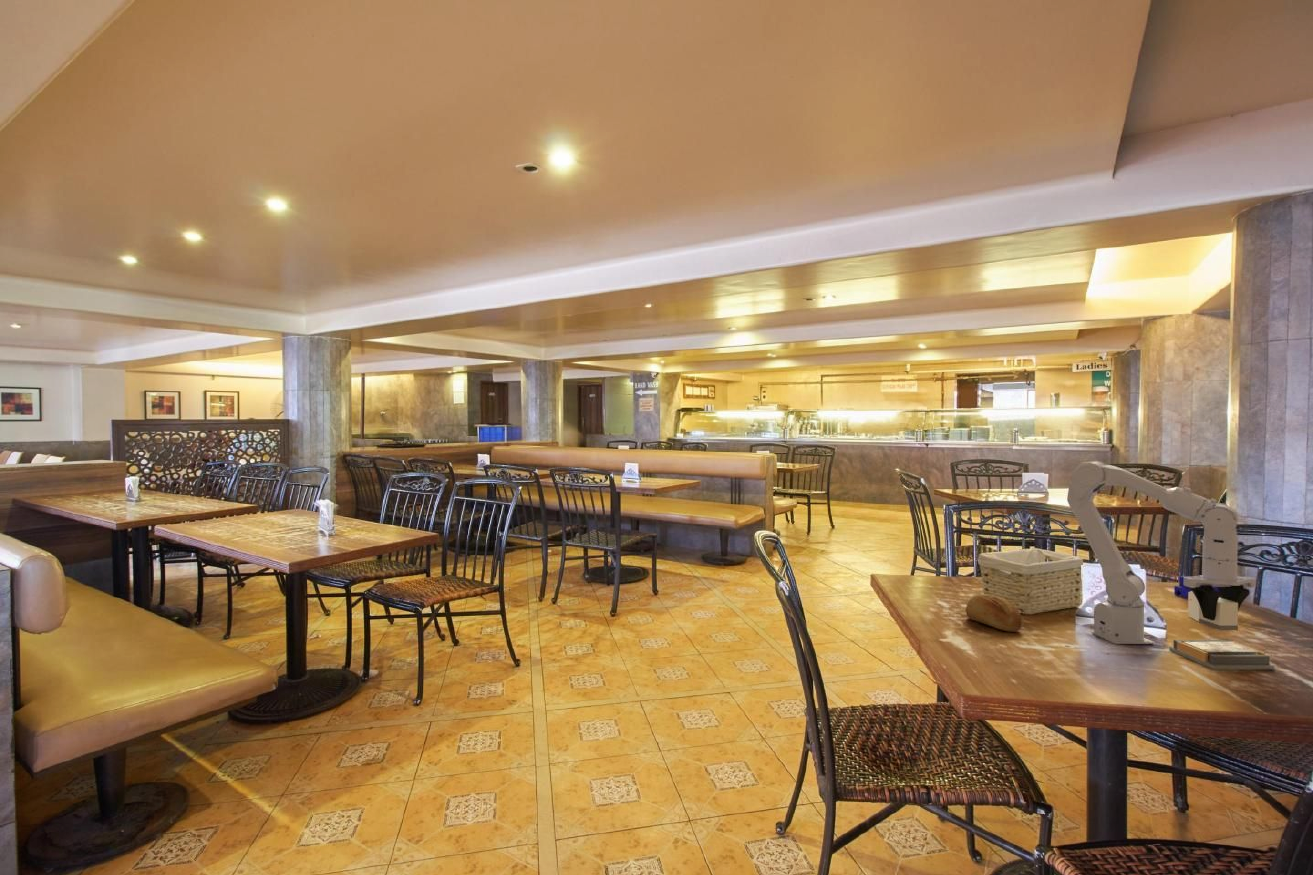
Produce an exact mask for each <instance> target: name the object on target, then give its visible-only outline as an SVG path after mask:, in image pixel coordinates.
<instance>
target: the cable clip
mask: <svg viewBox="0 0 1313 875" xmlns="http://www.w3.org/2000/svg"><path fill="white" fill-rule="evenodd" d="M1184 577H1192V576H1189V575H1179V576H1178V578H1179V582H1178V583H1179V585H1174V586H1173V587H1174V591H1173V592H1174V593H1173V594H1175V595H1174V596H1177V595H1180V596H1181V597H1180V596H1179V597H1180V598H1183V597H1184V598H1183V599H1186V598H1187V600H1188V592H1190V591H1192V590H1191V589H1190V587H1187V586H1184ZM1212 588H1214V590H1216V591H1219V589H1218V587H1212ZM1219 597H1220V598H1221V595H1220V596H1219Z"/></svg>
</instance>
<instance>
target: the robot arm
mask: <svg viewBox="0 0 1313 875" xmlns="http://www.w3.org/2000/svg"><path fill="white" fill-rule="evenodd" d="M1068 479H1069V483H1068V484H1069V486H1068V490H1067V497H1066V501H1067V504H1068V506H1069V507H1070V509H1071V512H1072V514H1073V515H1074V517H1075V519H1076V521H1077V522H1078V525H1079V527H1080V528H1081V530H1082V532H1083V534H1084V536H1085V537H1086V541H1087V542H1088V543H1089V546H1090V548H1091V550H1092V551H1093V553H1094V555H1095V557H1096V560H1097V561H1098V563H1099V565H1100V568H1101V572H1102V578H1103V579H1104V582H1105V592H1106V595H1107V597H1106V601H1104V602H1098V603H1096V604H1095V606H1094V609H1093V630H1091V634H1092V635H1095V636H1098V637H1100V638H1102V639H1103V640H1106V641H1107V642H1111V643H1112V644H1114V645H1152V644H1153V645H1154V643H1155V642H1154V641H1152V640H1150V639H1148V638H1146V637H1145V636H1144V634H1145V602H1144V601H1143V599H1141V596H1142V595H1143V594H1144V592H1145V591H1146V586H1145V582H1144V580H1143V579H1142V578H1141V577H1140V576H1138V575H1137V574H1136V573H1135V572H1134V570H1133V568H1132V567H1131V566H1130V565H1129V564H1128V562H1126V560H1125V559H1124V557H1123V556H1122V554H1121V551H1120V550H1119V548H1118V546H1117V544H1116V542H1115V540H1114V539H1113V537H1112V535H1111V533H1110V531H1109V529H1108V527H1107V525H1106V524H1105V522H1104V520H1103V518H1102V516H1101V514H1100V512H1099V511H1098V508H1097V506H1096V505H1095V503H1094V499H1095V498H1096V495H1097V494H1098V492H1099V490H1100V489H1101V488H1102V487H1103V486H1108V487H1109V486H1122V487H1125V488H1128V489H1130V490H1132V491H1134V492H1135V491H1136V493H1137V492H1138V493H1140V494H1143V495H1145V496H1148V497H1150V498H1152V499H1155V500H1158V501H1160V503H1161V504H1162V505H1161V506H1162V508H1164V509H1165V510H1168V511H1170V512H1172V513H1175V514H1177V515H1180V516H1181V517H1184V518H1186V519H1188V520H1191V521H1192V522H1196V523H1197V522H1200V523H1201V524H1202V526H1203V536H1202V555H1201V556H1202V557H1201V558H1202V561H1201V562H1202V563H1201V564H1202V566H1201V572H1202V573H1201V575H1195V576H1191V577H1184V586H1187V587H1190V589H1191V590H1192V592H1193V593H1194V595H1195V596H1196V598H1197V600H1198V602H1199V605H1200V608H1201V611H1202V614H1203V617H1204V618H1206V619H1209V620H1215V617H1216V606H1217V602H1218V599H1219V596H1220V595H1221V598H1223V599H1226V600H1230V601H1233V602H1237V603H1238V611H1240V608H1241V606H1242V604H1243V602H1244V601H1245V599H1247V597H1249V595H1250V593H1251V592H1250V591H1251V590H1250V589H1247V588H1256V586H1257V584H1256V583H1257V582H1256V581H1257V579H1256V578H1253V577H1250V576H1238V549H1239V548H1238V544H1239V542H1238V539H1237V537H1238V531H1237V526H1238V522H1239V519H1240V518H1239V514H1238V513H1237V510H1235V509H1234V508H1233V507H1231V506H1229V505H1228V504H1227V503H1221V502H1219V503H1217V502H1218V500H1217V499H1215V498H1211V499H1209V498H1207V497H1204V496H1201V495H1199V494H1196V493H1195V492H1192V489H1191V488H1189V487H1187V486H1186V487H1183V488H1182V487H1179V486H1175V487H1171V488H1167V487H1165V486H1162V485H1160V484H1158V483H1155V482H1153V481H1152V480H1149V479H1146V478H1144V477H1142V476H1139V475H1138V474H1135V473H1133V472H1131V471H1128V470H1126V469H1124V468H1121V467H1118V466H1115V465H1111V464H1106V463H1105V462H1102V461H1098V460H1094V461H1093V460H1092V461H1087V462H1082V463H1079V464H1077V466H1075V468H1074V469H1073V470H1072V472H1071V474H1069V477H1068ZM1212 587H1218V589H1219V591H1216V590H1214V588H1212ZM1245 587H1247V588H1245Z"/></svg>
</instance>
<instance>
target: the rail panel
mask: <svg viewBox="0 0 1313 875" xmlns="http://www.w3.org/2000/svg"><path fill="white" fill-rule="evenodd" d="M1183 642H1234V643H1237V644H1239V645H1242V646H1245V647H1247V648H1250V649H1253V650H1255V651H1258V655H1209V656H1208V653H1207V652H1204V651H1202V650H1199V649H1197V648H1195V647H1192V646H1190V645H1187V644H1185V643H1183ZM1169 651H1170V652H1173V653H1175V654H1178V655H1179V656H1181V657H1185V658H1186V659H1189V660H1191V661H1193V662H1195V663H1198V664H1200V665H1202V666H1205V667H1207V668H1209V669H1212V670H1275V665H1273V664H1271V662H1270V661H1271V660H1270V657H1271V656H1270V655H1266V653H1265V652H1264V651H1261V650H1258V649H1255V648H1253V647H1250V646H1247V645H1245V644H1242V643H1240V642H1237V641H1234V640H1233V641H1230V640H1228V639H1173V646H1169Z"/></svg>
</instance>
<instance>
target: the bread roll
mask: <svg viewBox="0 0 1313 875" xmlns="http://www.w3.org/2000/svg"><path fill="white" fill-rule="evenodd" d="M965 614H966V616H967V617H968V618H969V620H972V621H975V622H978V623H981V624H984V625H987V626H988V627H989V626H990V627H992V628H995V629H997V630H1001V631H1005V632H1018V631H1020V630H1021V629H1022V626H1023V618H1022V616H1021V614H1020V613H1019V611H1018V610H1017V608H1016V607H1015V606H1014V605H1013V604H1012V603H1010V602H1009V601H1007V600H1006V599H1004V598H1002V597H999V596H995V595H989V594H984V593H983V594H980V593H979V594H975V595H972V596H971V597H970V599H969V600H968V602H967V605H966V607H965Z"/></svg>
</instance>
